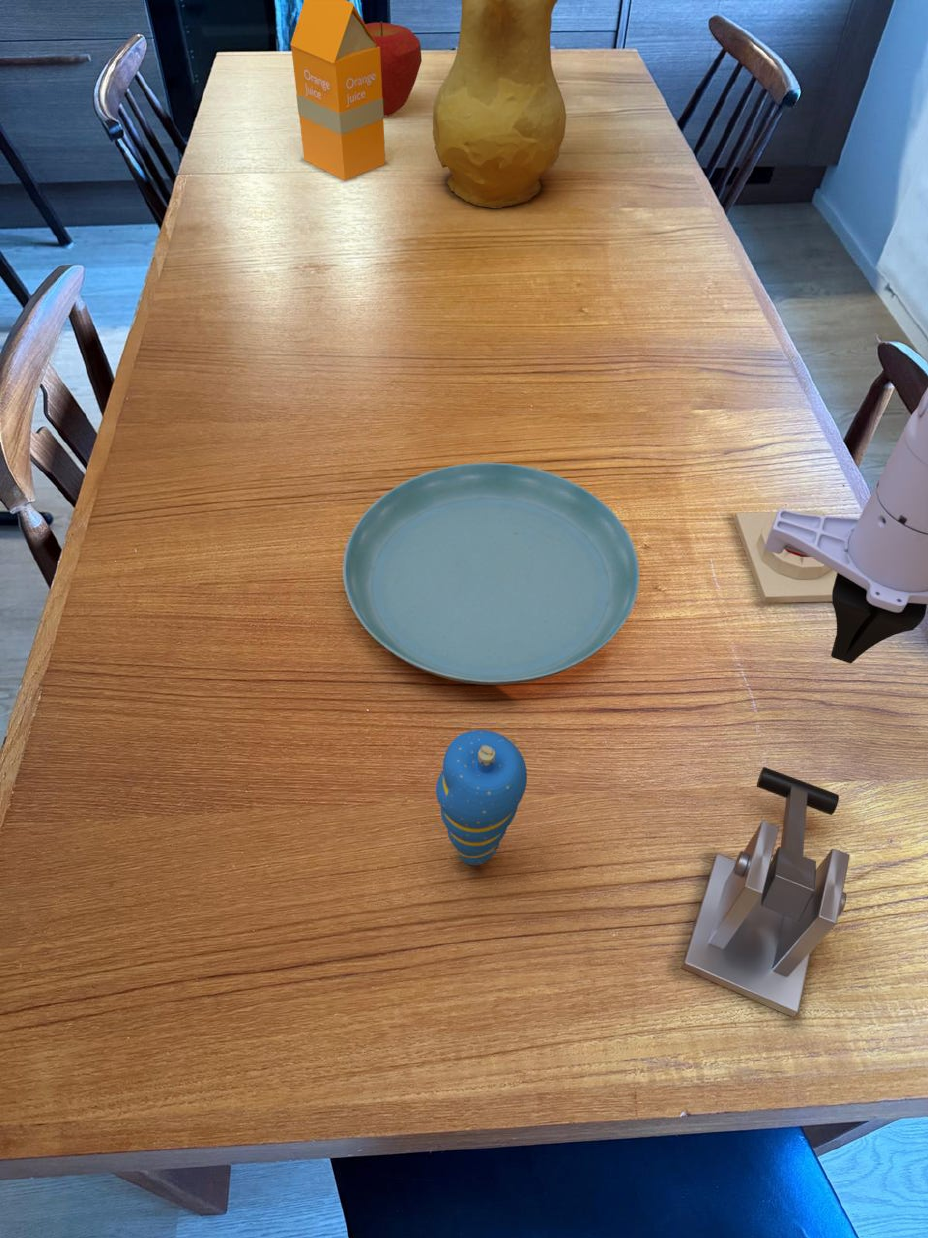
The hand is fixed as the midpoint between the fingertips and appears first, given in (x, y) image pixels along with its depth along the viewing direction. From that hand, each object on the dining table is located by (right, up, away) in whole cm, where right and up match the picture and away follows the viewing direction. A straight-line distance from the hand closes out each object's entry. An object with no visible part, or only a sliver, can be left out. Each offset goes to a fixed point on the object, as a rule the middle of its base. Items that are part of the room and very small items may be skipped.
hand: (843, 650), depth 60 cm
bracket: (-7, -18, -3) cm, 20 cm away
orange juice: (-42, +66, +66) cm, 102 cm away
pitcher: (-21, +62, +62) cm, 90 cm away
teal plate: (-23, +5, +16) cm, 29 cm away
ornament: (-25, -14, 0) cm, 29 cm away
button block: (+3, +7, +18) cm, 20 cm away
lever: (-5, -12, -4) cm, 14 cm away
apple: (-37, +80, +77) cm, 117 cm away
